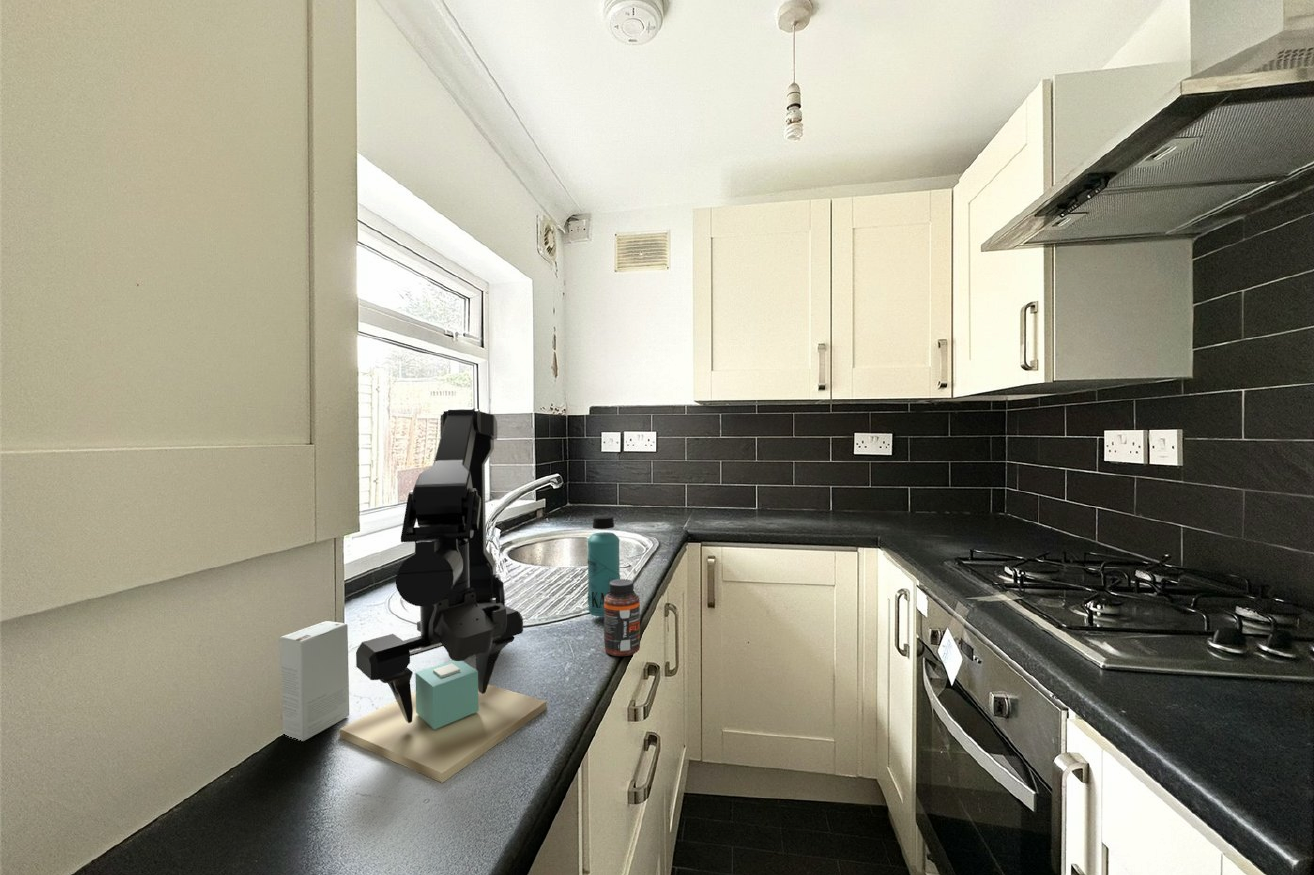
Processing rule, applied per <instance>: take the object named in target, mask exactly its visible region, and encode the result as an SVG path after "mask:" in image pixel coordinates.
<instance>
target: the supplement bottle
mask: <svg viewBox="0 0 1314 875" xmlns="http://www.w3.org/2000/svg"><path fill="white" fill-rule="evenodd" d="M634 584H635V583H634V580H632V579H625V578H620V579H618V580H613V581H611V582H610V583H609V590H610V593H609V594H607V595H606V596H605V598H604V616H603V638H604V640H603V641H604V642H603V644H604V651H605V652H606V653H607V654H608V655H611V656H613V657H629V656H632V655H635V654H636V653H637V652H638V651H640V649H641V620H640V619H641V616H640V615H641V612H640V608H641V607H640V606H641V605H640V596H639V594H637V593H636V592H635V591H634V590H635V589H634V587H635V586H634Z"/></svg>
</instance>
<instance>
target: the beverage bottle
mask: <svg viewBox="0 0 1314 875" xmlns="http://www.w3.org/2000/svg"><path fill="white" fill-rule="evenodd" d="M592 528H593V529H594V530H596V529H597V530H606V529H607V530H608V529H612V528H615V522H614V517H613V516H610V515H600V516H594V517H593V518H592ZM620 540H621V539H620V538H619V537H618V535H616V533H614V532H607V531H603V532H602V531H601V532H594V533H592V534H591V535H590V536H589V537H588V538H587V541H586V542H587V556H586V557H587V584H586V585H587V586H588V588H587V609H588V612H589V614H590V615H591V616H594V617H603V618H604V598H605V596H606V595H607V594H609V593H610V590H609V583H610V582H611V581H613V580H618V579H621V574H620V573H621V572H620V568H621V567H620V566H621V565H620V564H621V563H620Z"/></svg>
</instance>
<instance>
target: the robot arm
mask: <svg viewBox="0 0 1314 875" xmlns="http://www.w3.org/2000/svg"><path fill="white" fill-rule="evenodd" d="M439 425H440V426H439V427H440V429H439V431H440V434H439V435H440V439H439V443H438V446H437V449H436V454H435V457H434V461H433V464H432V466H430V467H428V468H427V469H425V470H423V471H422V472H421V473H419V475H418V477H417V479H416V481H415V484H414V485H413V486H414V487H413V489H412V490H410V491H409V492H408V496H407V500H406V506H405V511H404V518H403V523H402V528H401V533H400V534H401V535H400V543H413V542H414V552H413V553H412V554H411V555H409V556H408V557H407V558H406V559H405V560H404V561H403V562H402V563H401V565H400V566H399V568H398V570H397V572H396V573H397V574H396V576H395V586H396V591H397V592H398V594H399V595H400V597H401V598H402V599H403V600H404V601H405V602H406V603H407V604H409V605H413V606H416V607H419V608H420V611H419V612H420V613H419V616H420V620H419V621H416V630H417V631H418V632H420V635H418V636H415V637H412V638H408V639H404V640H403V639H401V638H400V637H399V636H397V635H396V634H394V633H390V634H386V635H384V636H378V637H376V638H372V639H370V640H366V641H362V642H361V643H360V644H359V646H358V648H357V649H356V651H355V660H356V661H355V663H356V664H355V665H356V668H357V669H358V670H359V671H361V672H362V674H364V675H365V676H366V677H367V678H368V679H369V680H370V681H380V682H381V683H383V684H387V685H388V686H389V688H390V690H391V692H392V694H393V696H394V699H395V701H397V703H398V705H399V707H400V709H401V711H402V714H403V716H404V718H405V720H406V721H407V722H408V723H411V722H412V717H413V707H412V697H411V693H412V689H411V687H412V686H411V679H412V676H413V671H412V670H411V669H410V668H408V666H409V665H410V664H411V657H412V656H416V655H418V654H423V653H426V652H429V651H432V650H434V649H438V648H441V647H444V649H445V651H446V652H447V655H448V657H449V659H451V661H452V660H454V661H463V662H464V661H466V660H467V659H468V658H470V657H472V656H475V667H476V668H475V669H476V670H477V671H478V689H479V692H480V693H481V694H484V693H485V692H486V689H487V686H488V684H489V683H490V681H491V677H492V674H493V671H494V668H495V664H496V662H497V660H498V658H499V656H500V653H501V652H502V650H503V649H504V648H505V647H506V646H507V645H509V644H510V643H512V642H514V641H515V636H518V635H521V634H523V633H524V618H523V616H522V614H521V613H520V612H519V611H518V610H516V609H513V608H511V607H509V606H506V594H505V585H504V584H505V583H504V582H503V581H502V579H501V575H500V574H499V573H498V574H497V565H496V564H497V563H496V561H495V560H494V557H492V555H491V554H490V552H489V551H488V549H487V527H486V525H487V524H486V523H487V522H486V521H487V520H486V516H487V515H486V469H485V468H486V466H485V465H486V463H487V461H488V459H489V458H490V457H491V455H492V453H493V452H494V450H495V445H494V444H495V441H497V440H498V421H497V418H496V416H495V415H494V414H491V413H489V412H488V413H487V412H484V411H481V409H479V408H475V406H474V407H469V406H468V407H448V408H447V409H445V408H444V410H443V414H441V415H440V424H439ZM416 523H417V527H416V526H415V525H416Z"/></svg>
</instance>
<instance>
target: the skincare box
mask: <svg viewBox="0 0 1314 875" xmlns="http://www.w3.org/2000/svg"><path fill="white" fill-rule="evenodd" d="M348 633H349V630H348V624H347V623H343V622H336V621H330V620H329V621H328V620H325V621H322V622H320V623H316V624H314V625H311V626H308V627H305V628H302V629H299V630H297V631H294V632H291V633H288V634H285V635H282V636H280V637H279V638H278V640H279V643H278V644H279V646H278V647H279V669H280V668H281V679H282V680H281V681H282V698H283V707H282V708H283V734H285V735H287V736H289V737H288V738H290V737H292V738H291V739H293V738H296V739H298V740H297V741H300V740H301V741H300V742H305V741H306V740H308V739H310V738H312V737H313V736H315V735H317V734H319V733H321V732H324V731H325V730H327V729H328V728H331V727H332V726H333V725H335V724H337V723H340V722H341V721H343V720H345V719H346V718H348V717H350V684H349V683H350V681H349V680H350V679H349V676H350V675H349V635H348ZM280 666H281V667H280ZM283 734H282V735H283ZM287 736H286V737H287ZM296 739H295V740H296Z"/></svg>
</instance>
